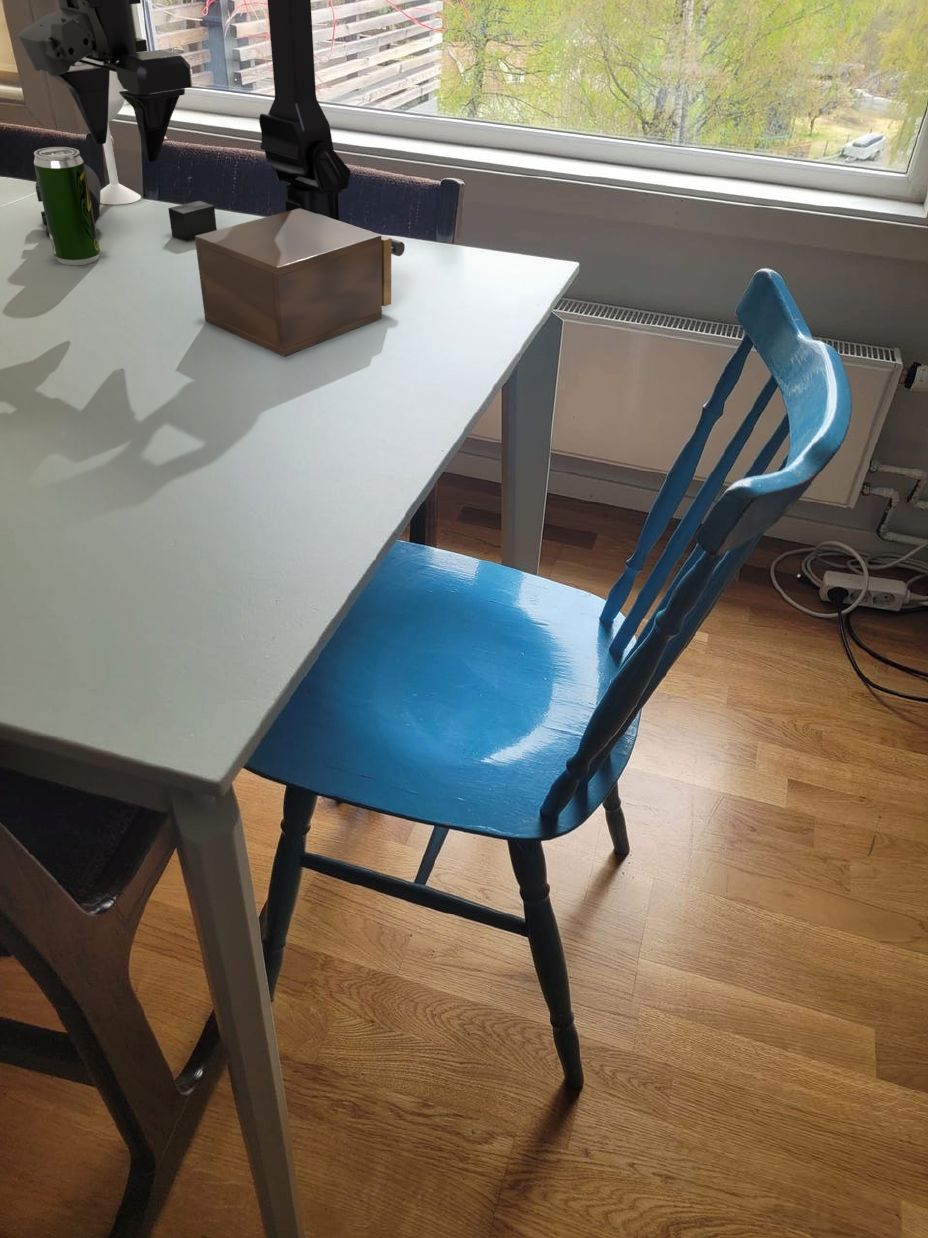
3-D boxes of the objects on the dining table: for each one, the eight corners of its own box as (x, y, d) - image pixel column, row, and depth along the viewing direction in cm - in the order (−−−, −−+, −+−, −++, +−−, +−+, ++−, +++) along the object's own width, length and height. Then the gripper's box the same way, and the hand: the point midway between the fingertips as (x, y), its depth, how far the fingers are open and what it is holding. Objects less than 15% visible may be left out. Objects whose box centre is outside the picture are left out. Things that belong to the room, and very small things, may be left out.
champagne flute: (124, 206, 134) (90, 3, 118) (82, 200, 135) (43, -2, 120) (150, 194, 139) (121, -3, 123) (109, 188, 140) (75, -8, 125)
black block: (202, 227, 128) (199, 200, 126) (217, 233, 127) (214, 205, 125) (172, 235, 125) (168, 207, 123) (186, 241, 124) (182, 213, 122)
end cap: (104, 236, 124) (94, 180, 120) (46, 238, 122) (33, 181, 118) (105, 212, 131) (95, 159, 127) (50, 214, 129) (38, 160, 125)
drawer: (348, 268, 117) (346, 205, 112) (418, 293, 111) (419, 228, 107) (231, 307, 105) (224, 239, 101) (303, 337, 100) (299, 267, 95)
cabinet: (304, 288, 113) (299, 207, 108) (382, 318, 107) (381, 235, 102) (205, 321, 104) (194, 235, 99) (284, 356, 98) (277, 267, 93)
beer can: (62, 268, 114) (38, 160, 107) (49, 254, 118) (26, 148, 110) (107, 262, 117) (87, 155, 109) (93, 248, 120) (73, 144, 112)
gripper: (-34, -30, 92) (8, 147, 102) (78, -5, 83) (112, 185, 93) (70, -35, 99) (100, 130, 109) (184, -13, 90) (205, 165, 100)
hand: (126, 152), depth 102 cm, fingers open, 9 cm apart
